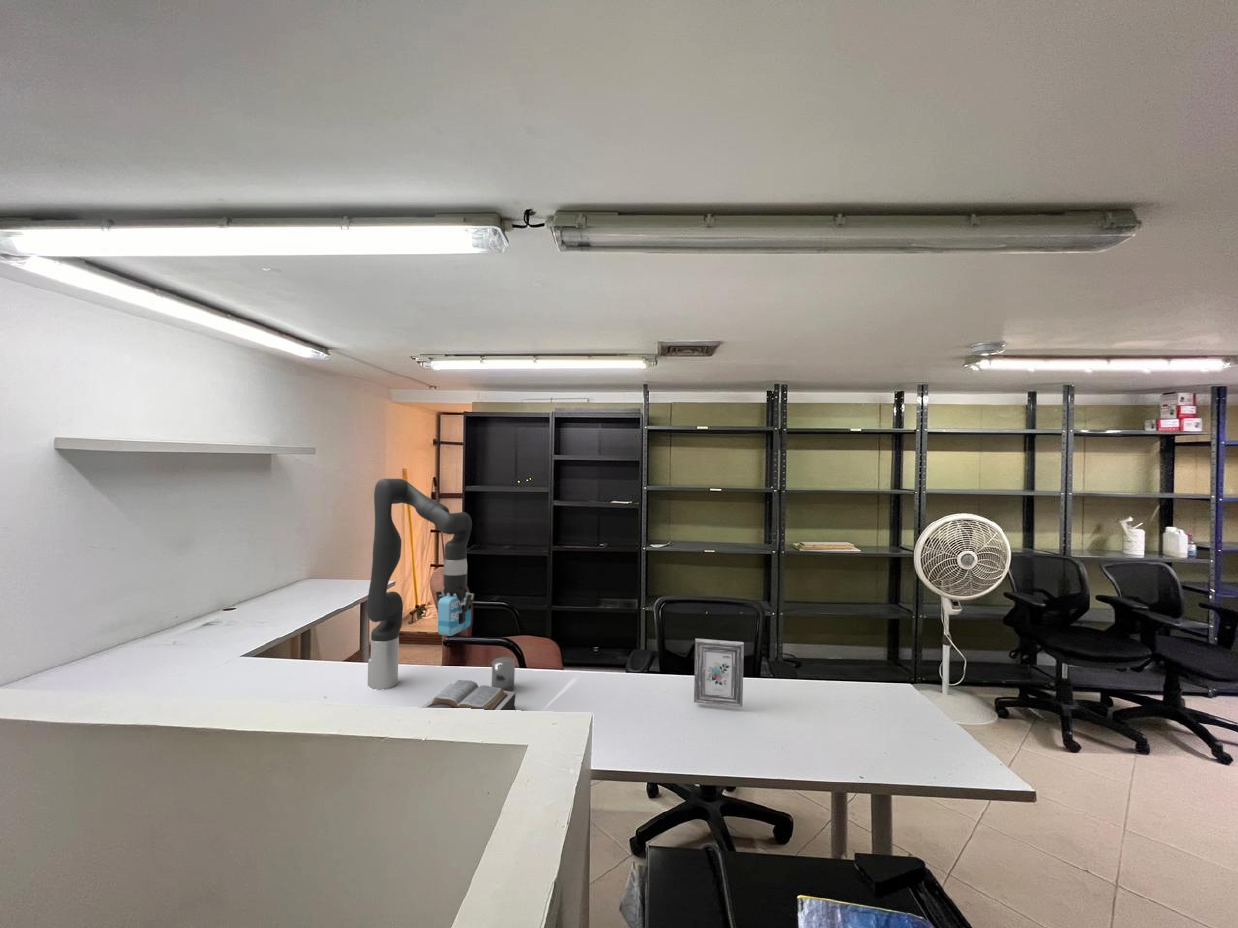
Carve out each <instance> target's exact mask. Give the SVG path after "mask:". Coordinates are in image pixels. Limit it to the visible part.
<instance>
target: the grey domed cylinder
mask: <svg viewBox="0 0 1238 928" xmlns="http://www.w3.org/2000/svg"><path fill="white" fill-rule="evenodd" d="M515 664H516V659H515V658H513V657H510V656H501V657H497V658H494V659H493V660H492V662H491V665H492V666H491V687H496V688H501V689H502V690H504V691H510V692H514V690H515V674H516V673H515V672H516V671H515V670H516V665H515Z"/></svg>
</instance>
